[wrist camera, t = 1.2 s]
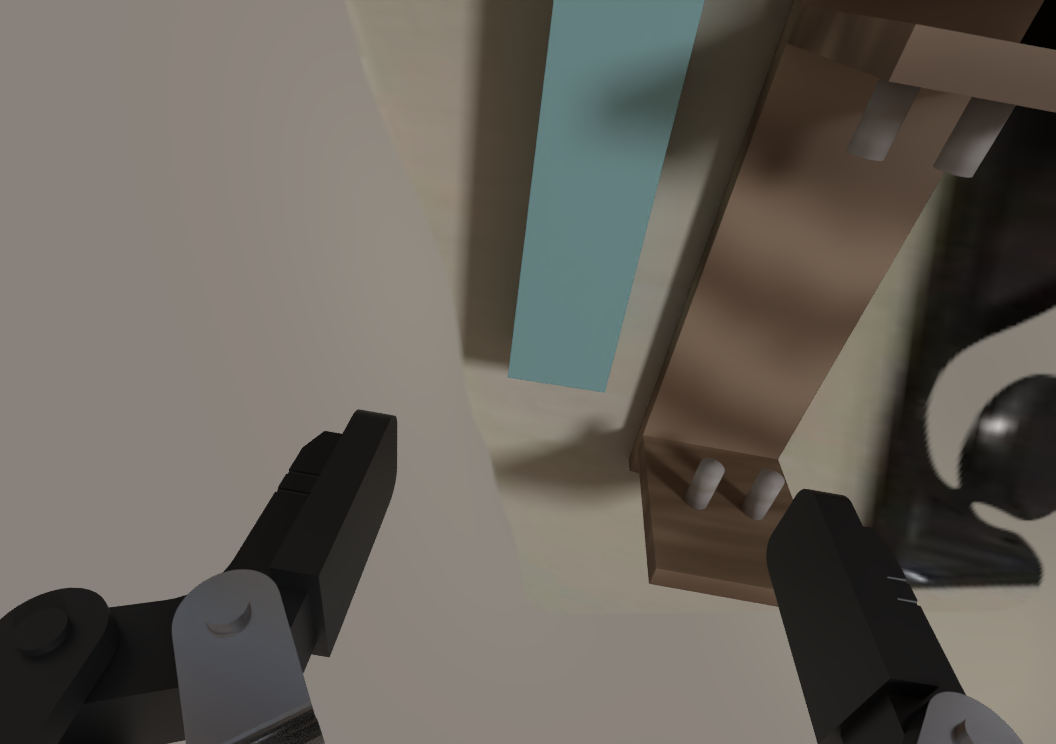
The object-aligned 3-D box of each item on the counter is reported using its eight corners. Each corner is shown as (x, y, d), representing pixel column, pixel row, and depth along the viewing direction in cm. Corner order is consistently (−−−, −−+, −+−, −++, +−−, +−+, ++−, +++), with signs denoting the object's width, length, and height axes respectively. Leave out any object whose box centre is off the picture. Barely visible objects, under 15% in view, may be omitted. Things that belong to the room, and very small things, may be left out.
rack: (814, -56, 20) (963, -75, 12) (1034, -15, 20) (1331, -6, 12) (629, 459, 35) (638, 605, 27) (754, 481, 35) (801, 633, 27)
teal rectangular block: (566, -63, 21) (562, -68, 18) (699, -43, 21) (716, -46, 18) (515, 340, 31) (507, 377, 29) (603, 354, 31) (604, 392, 29)
